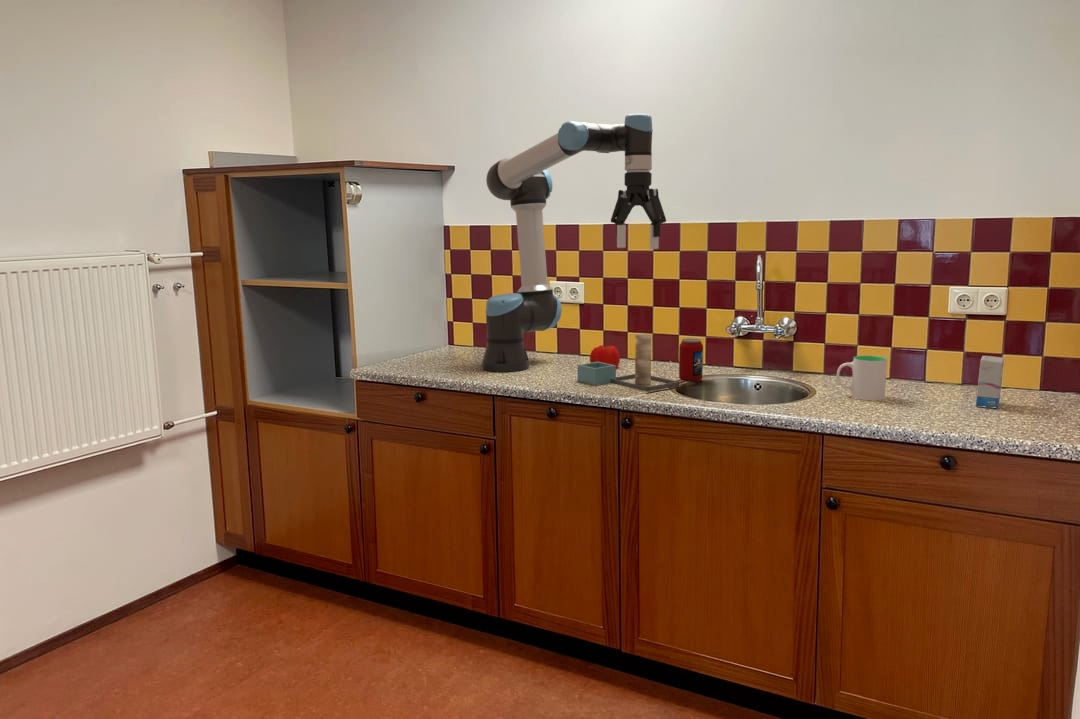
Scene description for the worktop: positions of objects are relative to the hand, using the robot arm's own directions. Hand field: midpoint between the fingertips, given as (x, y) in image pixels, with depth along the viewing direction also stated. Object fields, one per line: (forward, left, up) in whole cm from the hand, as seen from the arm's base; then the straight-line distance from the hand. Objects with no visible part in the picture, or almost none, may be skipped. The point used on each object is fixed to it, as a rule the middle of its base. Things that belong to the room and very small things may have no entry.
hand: (637, 248), depth 228 cm
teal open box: (-4, -12, -38) cm, 40 cm away
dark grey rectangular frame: (+7, -4, -38) cm, 39 cm away
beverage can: (+10, +12, -39) cm, 42 cm away
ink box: (+78, +46, -39) cm, 98 cm away
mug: (+53, +30, -39) cm, 72 cm away
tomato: (-19, +4, -39) cm, 43 cm away
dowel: (+7, -4, -38) cm, 39 cm away
